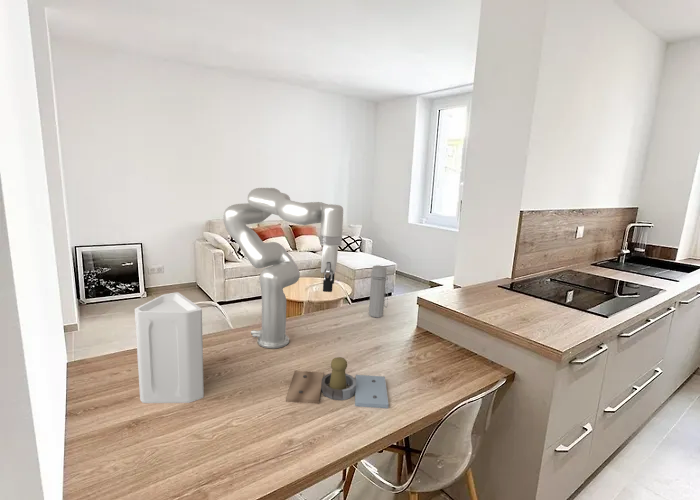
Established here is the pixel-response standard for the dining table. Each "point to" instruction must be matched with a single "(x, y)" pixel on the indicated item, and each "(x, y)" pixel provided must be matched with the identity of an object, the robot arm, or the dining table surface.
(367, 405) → the leaf
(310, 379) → the leaf
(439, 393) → the dining table surface
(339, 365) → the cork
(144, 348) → the white triangular canister
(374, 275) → the water bottle
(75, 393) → the dining table surface
